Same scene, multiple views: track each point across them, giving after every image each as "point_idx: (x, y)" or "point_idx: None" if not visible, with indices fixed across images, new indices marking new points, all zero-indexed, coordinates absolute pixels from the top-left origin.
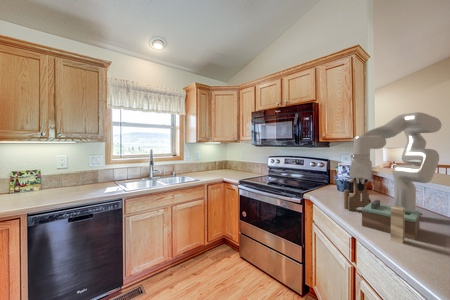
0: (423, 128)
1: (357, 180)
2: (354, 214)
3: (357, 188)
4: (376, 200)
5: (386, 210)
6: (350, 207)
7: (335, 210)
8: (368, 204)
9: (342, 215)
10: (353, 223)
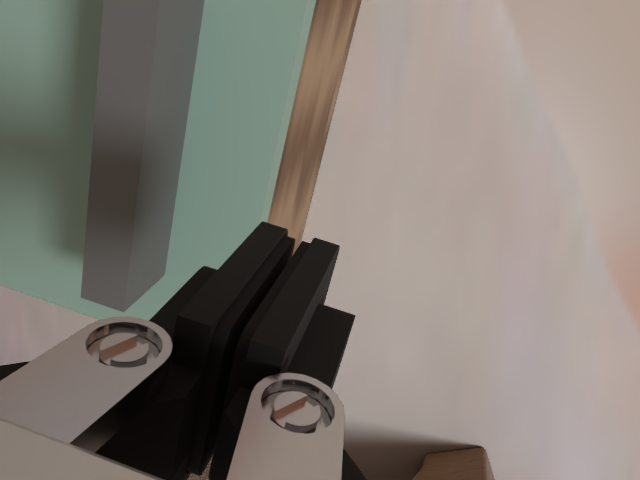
0: None
1: (286, 468)
2: (435, 364)
3: (353, 317)
4: (116, 247)
5: (36, 36)
6: (472, 477)
7: (631, 411)
8: None
9: (561, 275)
10: (454, 62)
